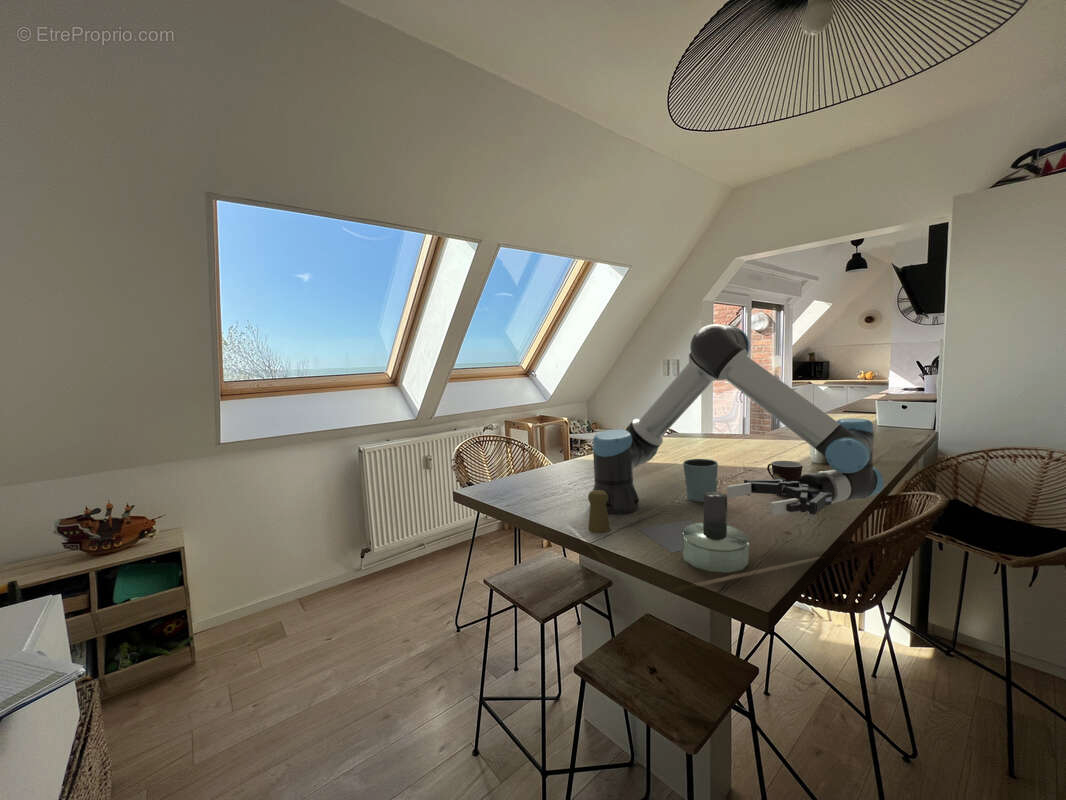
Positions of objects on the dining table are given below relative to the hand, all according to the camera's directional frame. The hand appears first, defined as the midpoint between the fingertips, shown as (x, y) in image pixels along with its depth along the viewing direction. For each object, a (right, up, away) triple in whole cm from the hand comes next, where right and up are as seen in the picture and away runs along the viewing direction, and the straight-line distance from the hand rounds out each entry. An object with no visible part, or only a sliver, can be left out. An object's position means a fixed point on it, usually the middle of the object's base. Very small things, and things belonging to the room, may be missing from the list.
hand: (748, 499), depth 101 cm
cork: (-31, -13, +19) cm, 38 cm away
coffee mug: (+32, -7, +42) cm, 54 cm away
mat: (-11, -12, +12) cm, 21 cm away
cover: (-8, -13, -1) cm, 15 cm away
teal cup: (+5, -9, +41) cm, 42 cm away
